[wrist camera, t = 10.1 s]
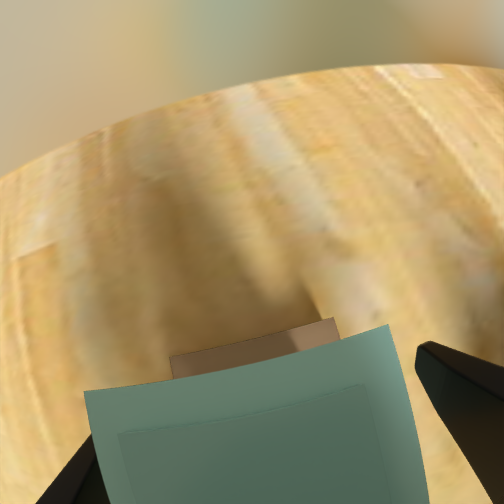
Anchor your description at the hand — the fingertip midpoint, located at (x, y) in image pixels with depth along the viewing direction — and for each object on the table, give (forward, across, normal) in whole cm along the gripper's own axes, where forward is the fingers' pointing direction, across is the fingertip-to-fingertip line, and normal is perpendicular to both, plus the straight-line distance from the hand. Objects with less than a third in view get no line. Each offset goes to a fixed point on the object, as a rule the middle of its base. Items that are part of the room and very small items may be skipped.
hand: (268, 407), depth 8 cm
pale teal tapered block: (+5, 0, +7) cm, 8 cm away
